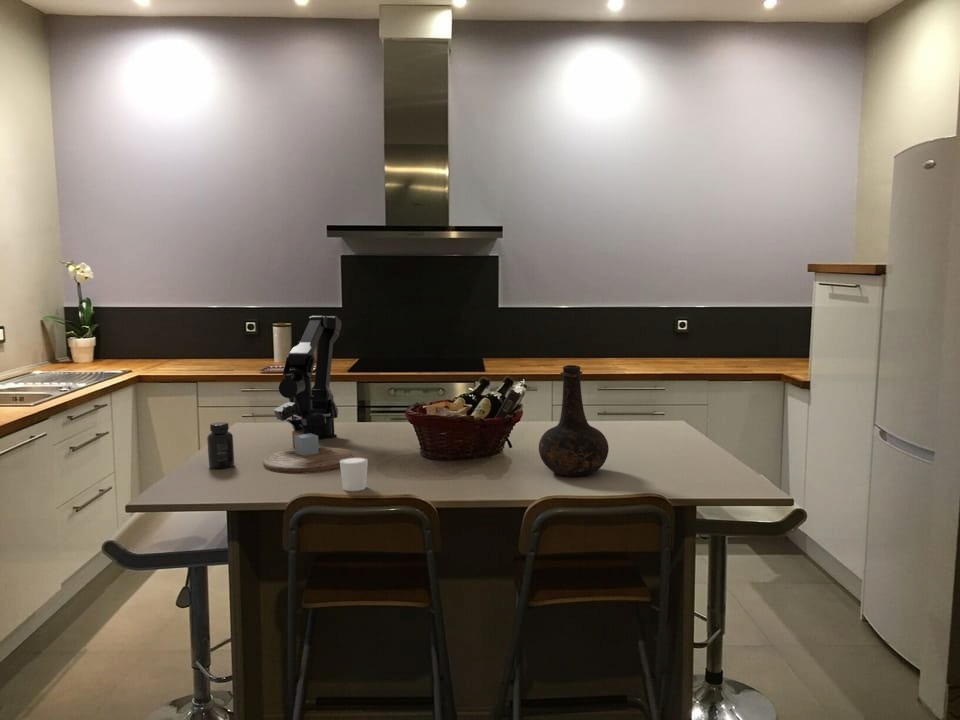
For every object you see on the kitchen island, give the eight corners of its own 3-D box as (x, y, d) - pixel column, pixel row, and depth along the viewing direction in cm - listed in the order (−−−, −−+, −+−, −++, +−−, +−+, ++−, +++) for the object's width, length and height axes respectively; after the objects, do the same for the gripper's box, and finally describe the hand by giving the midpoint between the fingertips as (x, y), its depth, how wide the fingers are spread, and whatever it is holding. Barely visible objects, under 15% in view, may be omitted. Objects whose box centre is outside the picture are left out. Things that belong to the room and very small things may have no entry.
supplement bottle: (238, 463, 235) (236, 421, 234) (228, 469, 229) (226, 425, 227) (214, 463, 236) (212, 421, 235) (204, 469, 229) (202, 425, 228)
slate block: (311, 450, 245) (310, 433, 244) (318, 453, 241) (318, 435, 240) (295, 452, 242) (294, 435, 241) (302, 455, 238) (301, 438, 237)
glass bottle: (616, 467, 224) (616, 362, 221) (596, 484, 208) (597, 371, 205) (552, 462, 231) (551, 360, 228) (529, 477, 215) (528, 368, 212)
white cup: (341, 484, 211) (340, 457, 210) (369, 483, 212) (368, 456, 211) (339, 492, 204) (338, 463, 203) (367, 491, 205) (367, 462, 204)
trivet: (372, 462, 237) (372, 455, 237) (297, 479, 219) (297, 472, 219) (319, 449, 254) (319, 443, 254) (245, 465, 236) (245, 458, 236)
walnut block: (308, 445, 258) (307, 429, 258) (315, 447, 254) (314, 431, 254) (292, 447, 255) (292, 431, 255) (300, 450, 251) (299, 433, 251)
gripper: (263, 392, 255) (266, 443, 257) (290, 399, 241) (292, 453, 242) (297, 388, 262) (299, 438, 264) (325, 395, 247) (327, 447, 249)
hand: (304, 444), depth 255 cm, fingers closed on walnut block, 5 cm apart
